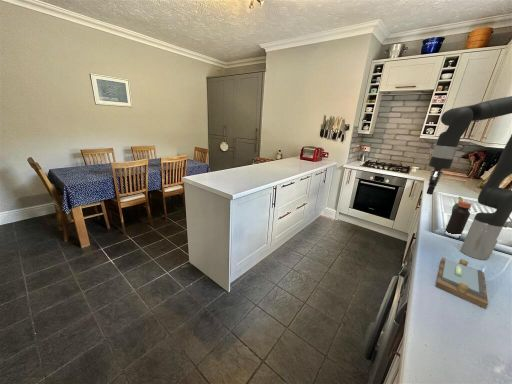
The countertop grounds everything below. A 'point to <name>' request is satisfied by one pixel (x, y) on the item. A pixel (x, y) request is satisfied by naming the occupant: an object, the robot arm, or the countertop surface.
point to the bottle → (458, 218)
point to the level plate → (463, 276)
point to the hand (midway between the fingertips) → (429, 193)
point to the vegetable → (457, 204)
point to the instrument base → (454, 291)
